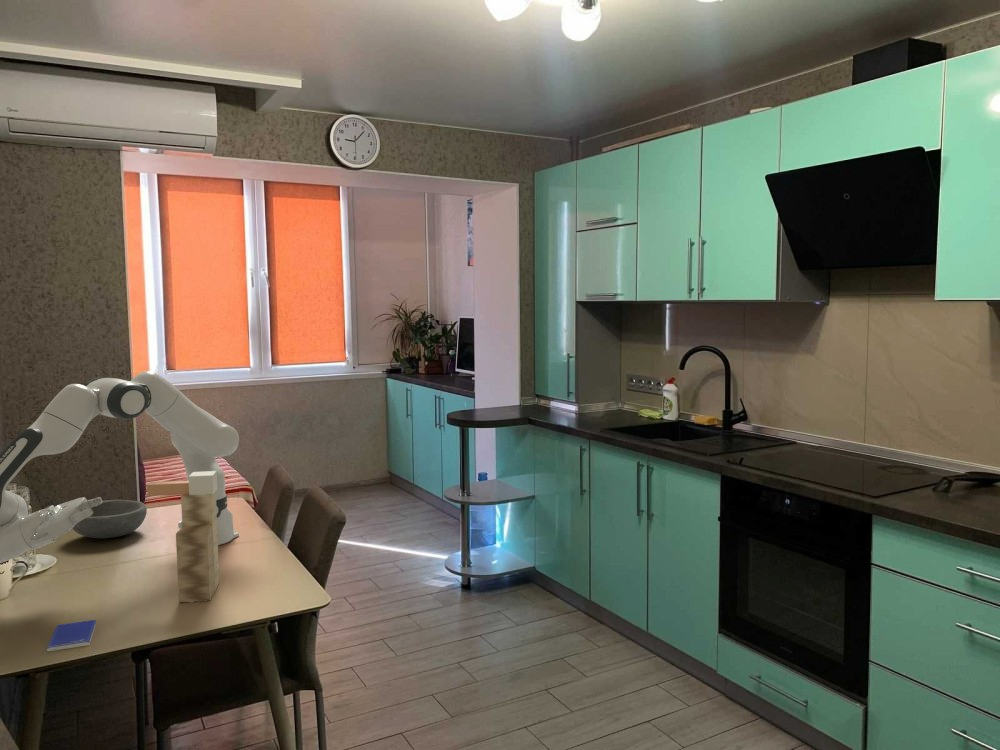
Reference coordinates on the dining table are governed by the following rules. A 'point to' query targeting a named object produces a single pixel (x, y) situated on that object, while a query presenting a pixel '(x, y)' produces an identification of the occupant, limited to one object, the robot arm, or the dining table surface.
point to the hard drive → (72, 635)
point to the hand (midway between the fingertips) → (96, 505)
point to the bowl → (112, 519)
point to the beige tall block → (197, 548)
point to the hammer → (186, 485)
